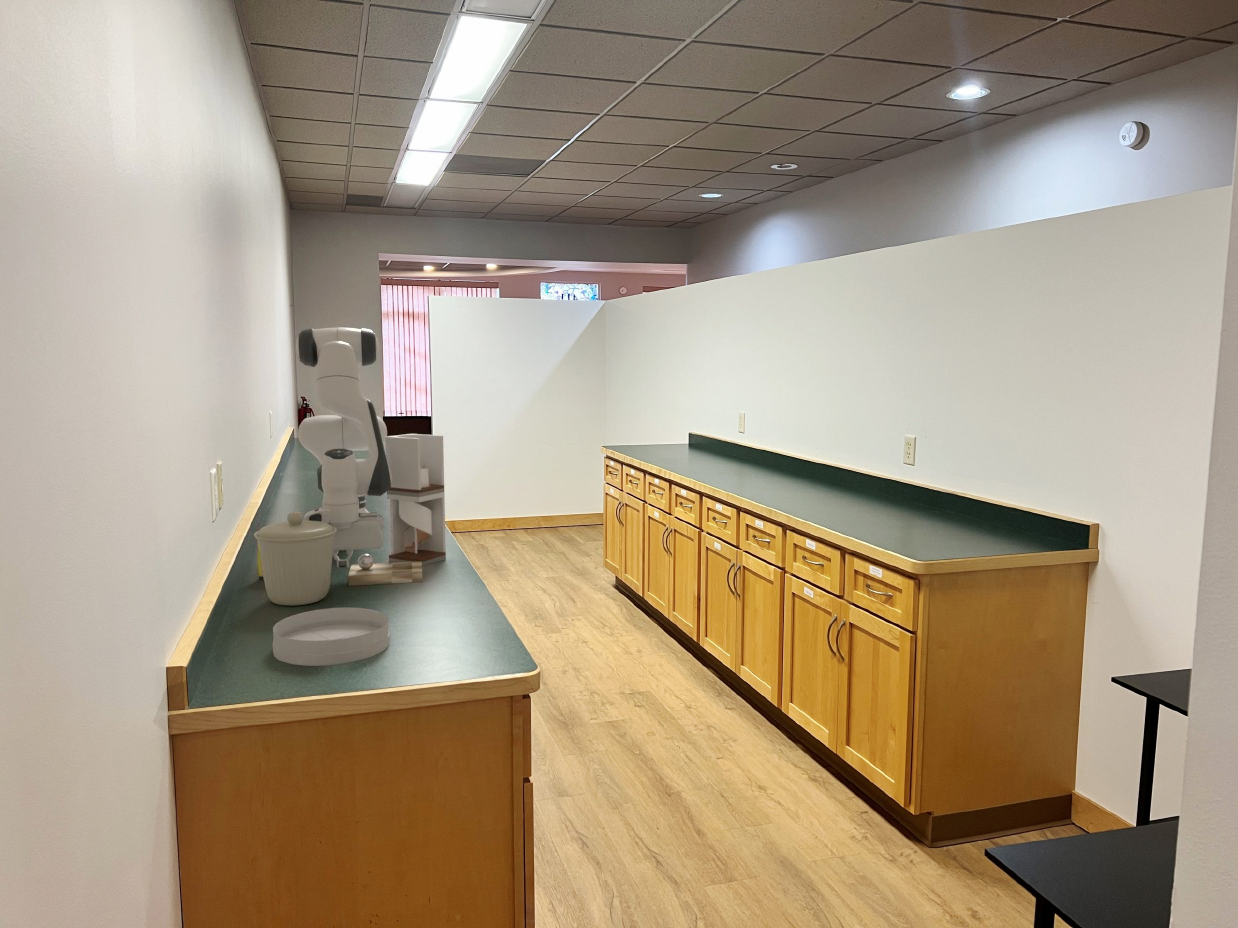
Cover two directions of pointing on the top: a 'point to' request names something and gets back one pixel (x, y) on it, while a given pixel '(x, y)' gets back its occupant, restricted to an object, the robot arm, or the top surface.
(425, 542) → the display case
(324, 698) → the top surface
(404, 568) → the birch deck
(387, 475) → the robot arm
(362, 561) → the steel ball
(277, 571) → the canister
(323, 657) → the dish
